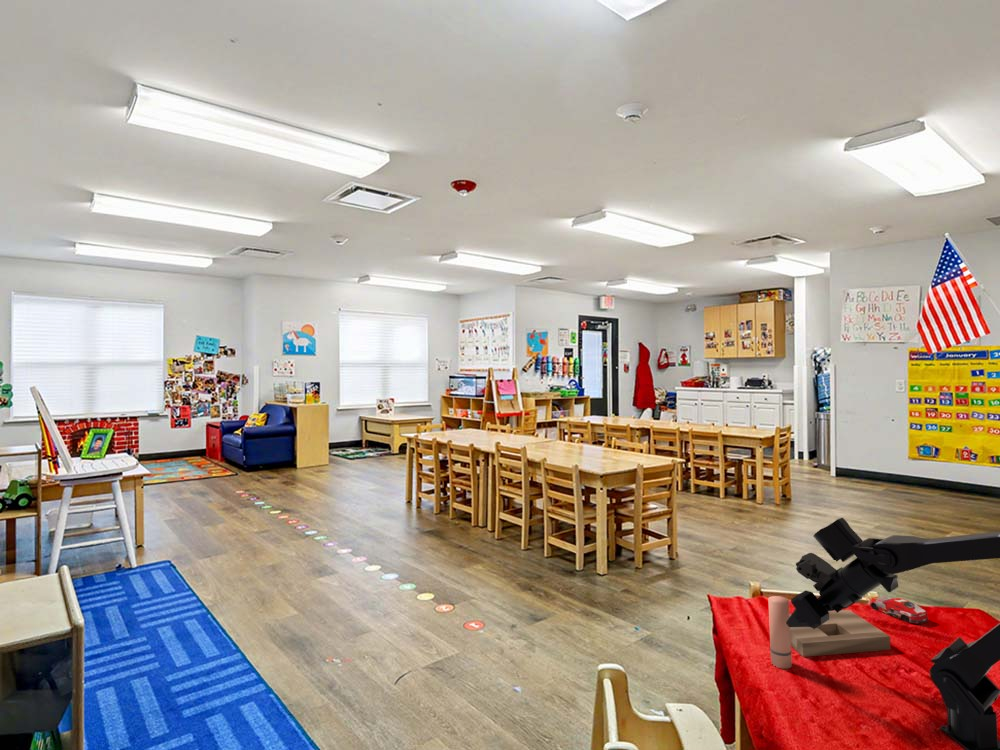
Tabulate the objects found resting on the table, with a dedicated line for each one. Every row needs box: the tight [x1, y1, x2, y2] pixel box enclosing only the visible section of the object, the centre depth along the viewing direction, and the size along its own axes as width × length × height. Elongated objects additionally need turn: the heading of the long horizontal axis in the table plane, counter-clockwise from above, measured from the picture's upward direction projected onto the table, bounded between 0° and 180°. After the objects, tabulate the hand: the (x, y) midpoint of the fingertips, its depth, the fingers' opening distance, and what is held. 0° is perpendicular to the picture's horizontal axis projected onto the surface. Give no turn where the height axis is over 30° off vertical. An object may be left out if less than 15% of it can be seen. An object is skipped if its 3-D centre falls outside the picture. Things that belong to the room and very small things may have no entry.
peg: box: [767, 595, 792, 670], centre depth 126 cm, size 4×4×14 cm
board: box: [789, 609, 891, 658], centre depth 136 cm, size 14×20×3 cm
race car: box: [869, 596, 929, 624], centre depth 146 cm, size 13×5×4 cm, turn 19°
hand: (799, 618), depth 122 cm, fingers open, 9 cm apart
